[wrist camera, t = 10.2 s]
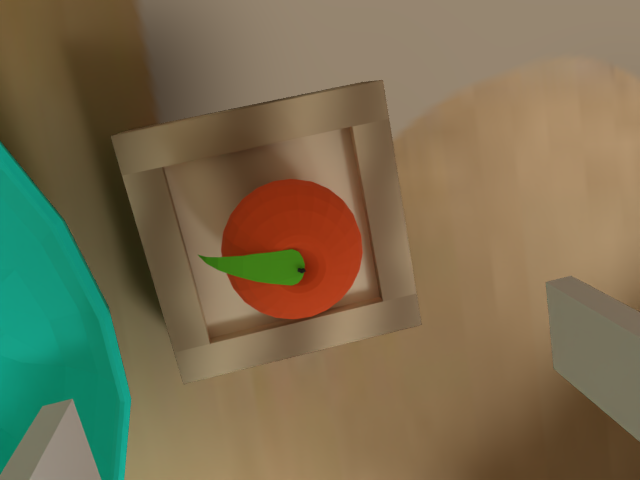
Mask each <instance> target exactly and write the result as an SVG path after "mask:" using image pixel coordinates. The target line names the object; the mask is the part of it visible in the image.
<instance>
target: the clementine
mask: <svg viewBox="0 0 640 480" xmlns="http://www.w3.org/2000/svg"><path fill="white" fill-rule="evenodd" d="M221 253H222V257H205V256H201V255H198V256H199V257H200V258H201V259H202V260H203V261H204V262H205V263H206V264H208V265H210V266H212V267H213V268H215V269H217V270H219V271H222V272H225V273H226V274H227V276H228V278H229V280H230V283H231V285H232V287H233V289H234V290H235V291H236V292H237V294H238V295H239V296H240V297H241V298H242V299H243V301H244V302H245V303H247V304H248V305H250V306H251V307H253V308H254V309H256V310H257V311H259V312H261V313H264V314H266V315H269V316H272V317H275V318H284V319H300V318H306V317H312V316H314V315H317V314H319V313H321V312H324V311H326V310H328V309H329V308H330V307H332V306H333V305H334V304H336V303H337V302H338V301H340V300H341V299H342V298H343V296H344V295H345V294H346V293H347V292H348V290H349V289H350V288H351V287H352V285H353V283H354V281H355V279H356V277H357V274H358V272H359V270H360V265H361V260H362V254H363V250H362V239H361V233H360V231H359V228H358V225H357V223H356V220H355V217H354V215H353V213H352V212H351V210H350V209H349V208H348V206H347V205H346V203H345V202H344V201H343V200H342V199H341V198H340V197H339V196H337V195H336V194H335V193H334V192H332V191H331V190H330V189H328V188H326V187H324V186H321V185H319V184H317V183H314V182H312V181H305V180H297V179H286V180H278V181H273V182H270V183H268V184H265V185H263V186H260V187H258V188H256V189H255V190H254V191H252V192H251V193H250V194H248V195H247V196H246V197H244V198H243V199H242V200H241V202H240V203H239V204H238V205H237V207H236V208H235V209H234V211H233V212H232V213H231V215H230V217H229V219H228V221H227V224H226V226H225V229H224V231H223V237H222V246H221Z"/></svg>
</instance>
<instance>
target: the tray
mask: <svg viewBox="0 0 640 480" xmlns="http://www.w3.org/2000/svg"><path fill="white" fill-rule="evenodd" d="M110 137H111V140H112V143H113V147H114V150H115V154H116V157H117V160H118V164H119V167H120V171H121V174H122V177H123V181H124V184H125V188H126V191H127V194H128V198H129V201H130V205H131V208H132V211H133V215H134V218H135V222H136V225H137V228H138V232H139V235H140V239H141V242H142V245H143V249H144V252H145V256H146V259H147V262H148V266H149V269H150V273H151V276H152V279H153V283H154V286H155V290H156V293H157V296H158V300H159V303H160V307H161V310H162V313H163V317H164V320H165V324H166V327H167V330H168V334H169V337H170V341H171V344H172V347H173V351H174V354H175V358H176V361H177V364H178V368H179V371H180V375H181V378H182V381H183V384H187V383H191V382H195V381H199V380H203V379H207V378H211V377H215V376H219V375H223V374H227V373H231V372H235V371H239V370H243V369H247V368H251V367H255V366H259V365H263V364H267V363H271V362H275V361H279V360H283V359H287V358H291V357H295V356H299V355H303V354H307V353H311V352H315V351H319V350H323V349H327V348H331V347H335V346H339V345H343V344H347V343H351V342H355V341H359V340H363V339H367V338H371V337H375V336H379V335H383V334H387V333H391V332H395V331H399V330H403V329H407V328H411V327H415V326H419V325H422V323H421V317H420V311H419V305H418V298H417V292H416V286H415V279H414V273H413V267H412V260H411V254H410V248H409V241H408V235H407V229H406V223H405V216H404V210H403V204H402V197H401V191H400V185H399V178H398V172H397V166H396V160H395V153H394V147H393V141H392V134H391V128H390V122H389V115H388V109H387V104H386V97H385V90H384V84H383V80H379V81H368V82H361V83H356V84H351V85H346V86H341V87H336V88H331V89H326V90H322V91H317V92H312V93H307V94H302V95H298V96H293V97H288V98H283V99H278V100H273V101H269V102H263V103H259V104H254V105H249V106H244V107H239V108H234V109H229V110H224V111H220V112H215V113H210V114H205V115H201V116H195V117H190V118H186V119H181V120H176V121H171V122H166V123H161V124H156V125H151V126H147V127H142V128H137V129H132V130H127V131H124V132H121V133H118V134H115V135H112V136H110ZM286 179H297V180H305V181H312V182H314V183H317V184H319V185H321V186H324V187H326V188H328V189H330V190H331V191H332V192H334V193H335V194H336V195H337V196H339V197H340V198H341V199H342V200H343V201H344V202H345V203H346V205H347V206H348V208H349V209H350V210H351V212H352V213H353V215H354V217H355V220H356V223H357V225H358V228H359V231H360V233H361V239H362V250H363V254H362V260H361V265H360V270H359V272H358V274H357V277H356V279H355V281H354V283H353V285H352V287H351V288H350V289H349V290H348V292H347V293H346V294H345V295H344V296H343V298H342V299H341V300H340V301H338V302H337V303H336V304H334V305H333V306H332V307H330V308H329V309H328V310H326V311H324V312H321V313H319V314H317V315H314V316H312V317H306V318H300V319H284V318H275V317H272V316H269V315H266V314H264V313H261V312H259V311H257V310H256V309H254V308H253V307H251V306H250V305H248V304H247V303H245V302H244V301H243V299H242V298H241V297H240V296H239V295H238V294H237V292H236V291H235V290H234V289H233V287H232V285H231V283H230V280H229V278H228V276H227V274H226V273H225V272H222V271H219V270H217V269H215V268H213V267H212V266H210V265H208V264H206V263H205V262H204V261H203V260H202V259H201V258H200V257H199V256H198V255H201V256H205V257H222V253H221V246H222V237H223V231H224V229H225V226H226V224H227V221H228V219H229V217H230V215H231V213H232V212H233V211H234V209H235V208H236V207H237V205H238V204H239V203H240V202H241V200H242V199H243V198H244V197H246V196H247V195H248V194H250V193H251V192H252V191H254V190H255V189H256V188H258V187H260V186H263V185H265V184H268V183H270V182H273V181H278V180H286Z"/></svg>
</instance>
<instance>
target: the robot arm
mask: <svg viewBox="0 0 640 480" xmlns="http://www.w3.org/2000/svg"><path fill="white" fill-rule="evenodd" d="M546 291H547V302H548V313H549V323H550V334H551V345H552V356H553V367H554V370H556V371H557V372H558V373H559V374H560V375H561V376H563V377H564V378H565V379H566V380H567V381H569V382H570V383H571V384H572V385H573V386H574V387H576V388H577V389H578V390H579V391H580V392H582V393H583V394H584V395H585V396H586V397H587V398H589V399H590V400H591V401H592V402H593V403H594V404H596V405H597V406H598V407H599V408H600V409H602V410H603V411H604V412H605V413H606V414H607V415H609V416H610V417H611V418H612V419H613V420H615V421H616V422H617V423H618V424H619V425H620V426H622V427H623V428H624V429H625V430H626V431H627V432H629V433H630V434H631V435H632V436H633V437H635V438H636V439H637V440H638V441H639V442H640V312H639V311H637V310H635V309H633V308H631V307H629V306H627V305H625V304H623V303H622V302H620V301H618V300H616V299H614V298H612V297H610V296H608V295H606V294H605V293H603V292H601V291H599V290H597V289H595V288H593V287H591V286H589V285H588V284H586V283H584V282H582V281H580V280H578V279H576V278H574V277H572V276H568V277H564V278H560V279H556V280H552V281H548V282H546ZM0 480H101V477H100V475H99V472H98V469H97V466H96V463H95V460H94V458H93V455H92V452H91V449H90V446H89V444H88V441H87V438H86V435H85V432H84V430H83V427H82V424H81V421H80V418H79V416H78V413H77V410H76V407H75V404H74V401H73V399H70V400H65V401H61V402H57V403H53V404H49V405H45V406H42V408H41V409H40V411H39V413H38V414H37V416H36V418H35V419H34V421H33V422H32V424H31V426H30V427H29V429H28V430H27V432H26V434H25V435H24V437H23V439H22V440H21V442H20V443H19V445H18V447H17V448H16V450H15V452H14V453H13V455H12V456H11V458H10V460H9V461H8V463H7V464H6V466H5V468H4V469H3V471H2V473H1V474H0Z"/></svg>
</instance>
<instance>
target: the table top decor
mask: <svg viewBox="0 0 640 480" xmlns="http://www.w3.org/2000/svg"><path fill="white" fill-rule="evenodd" d="M70 399H73V401H74V404H75V407H76V410H77V413H78V416H79V418H80V421H81V424H82V427H83V430H84V432H85V435H86V438H87V441H88V444H89V446H90V449H91V452H92V455H93V458H94V460H95V463H96V466H97V469H98V472H99V475H100V477H101V480H124V476H125V464H126V453H127V441H128V430H129V419H130V407H131V396H130V392H129V387H128V382H127V378H126V374H125V370H124V366H123V362H122V358H121V354H120V350H119V346H118V342H117V338H116V334H115V330H114V326H113V322H112V318H111V314H110V310H109V306H108V304H107V302H106V300H105V299H104V297H103V295H102V293H101V291H100V289H99V287H98V285H97V283H96V281H95V279H94V277H93V275H92V273H91V271H90V269H89V267H88V265H87V263H86V261H85V259H84V257H83V255H82V253H81V252H80V250H79V248H78V246H77V244H76V242H75V240H74V238H73V236H72V234H71V232H70V230H69V228H68V226H67V224H66V222H65V220H64V219H63V218H62V217H61V215H60V214H59V213H58V212H57V210H56V209H55V208H54V207H53V206H52V204H51V203H50V202H49V201H48V199H47V198H46V197H45V196H44V194H43V193H42V192H41V191H40V189H39V188H38V187H37V186H36V185H35V183H34V182H33V181H32V180H31V178H30V177H29V176H28V175H27V173H26V172H25V171H24V170H23V168H22V167H21V166H20V165H19V163H18V162H17V161H16V160H15V159H14V157H13V156H12V155H11V154H10V152H9V151H8V150H7V149H6V147H5V146H4V145H3V144H2V142H1V141H0V474H1V473H2V471H3V469H4V468H5V466H6V464H7V463H8V461H9V460H10V458H11V456H12V455H13V453H14V452H15V450H16V448H17V447H18V445H19V443H20V442H21V440H22V439H23V437H24V435H25V434H26V432H27V430H28V429H29V427H30V426H31V424H32V422H33V421H34V419H35V418H36V416H37V414H38V413H39V411H40V409H41V408H42V406H45V405H49V404H53V403H57V402H61V401H65V400H70Z"/></svg>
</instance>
